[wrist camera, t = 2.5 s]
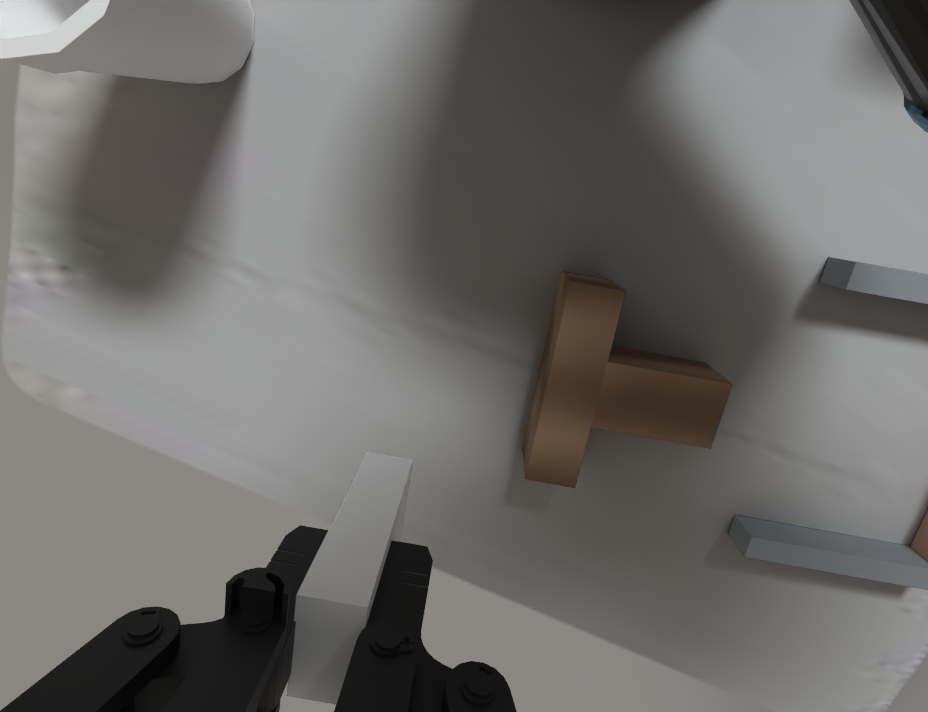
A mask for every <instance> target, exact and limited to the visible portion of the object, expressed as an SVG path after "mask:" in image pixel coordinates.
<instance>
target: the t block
mask: <svg viewBox="0 0 928 712" xmlns="http://www.w3.org/2000/svg"><path fill="white" fill-rule="evenodd" d="M625 293H626V291H625V290H623V289H622V288H621V287H619V286H618V285H616V284H615V283H614V282H612V281H611V280H606V279H601V278H595V277H589V276H584V275H578V274H572V273H567V272H561V276H560V281H559V285H558V290H557V294H556V299H555V303H554V308H553V312H552V317H551V321H550V326H549V331H548V335H547V340H546V344H545V349H544V353H543V358H542V362H541V367H540V371H539V376H538V380H537V385H536V389H535V394H534V398H533V403H532V407H531V412H530V416H529V421H528V425H527V430H526V434H525V439H524V443H523V448H522V452H523V461H524V470H525V479H528V480H534V481H539V482H545V483H550V484H556V485H561V486H567V487H573V488H575V486H576V482H577V478H578V474H579V470H580V467H581V463H582V459H583V455H584V451H585V447H586V443H587V440H588V436H589V432H590V428H591V427H592V428H597V429H603V430H609V431H614V432H620V433H625V434H631V435H637V436H642V437H648V438H653V439H659V440H665V441H670V442H676V443H681V444H687V445H693V446H698V447H704V448H709V449H711V446H712V443H713V440H714V437H715V434H716V431H717V428H718V425H719V423H720V420H721V417H722V414H723V411H724V408H725V405H726V402H727V399H728V396H729V393H730V390H731V387H732V384H731V383H730V382H729V381H728V380H726V379H725V378H724V377H723V376H721V375H720V374H719V373H718V372H716V371H715V370H714V369H713V368H711V367H710V366H709V365H708V364H706V363H703V362H698V361H692V360H686V359H681V358H675V357H670V356H664V355H658V354H653V353H647V352H641V351H636V350H630V349H625V348H619V347H613V346H612V343H613V339H614V335H615V332H616V328H617V324H618V320H619V316H620V312H621V308H622V305H623V301H624V297H625Z"/></svg>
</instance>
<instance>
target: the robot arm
mask: <svg viewBox="0 0 928 712" xmlns="http://www.w3.org/2000/svg"><path fill="white" fill-rule="evenodd" d="M850 2H851V4H852V5H853V7H854V9H855V10H856V12H857V14H858V16H859V17H860V19H861V21H862V22H863V24H864V26H865V28H866V29H867V31H868V33H869V34H870V36H871V38H872V39H873V41H874V43H875V45H876V46H877V48H878V50H879V51H880V53H881V55H882V57H883V58H884V60H885V62H886V63H887V65H888V67H889V68H890V70H891V72H892V74H893V75H894V77H895V79H896V80H897V82H898V84H899V86H900V87H901V89H902V91H903V94H904V107H905V109H906V111H907V113H908V114H909V115H910V117H911V118H912V120H913V121H914V122H915V123H916V124H917V125H919V126H920V127H921V128H922V129H923V130H924V131H926V132H928V0H850ZM412 463H413V459H407V458H402V457H396V456H390V455H385V454H379V453H373V452H368V451H367V453H366V455H365V457H364V459H363V461H362V463H361V465H360V467H359V469H358V472H357V474H356V476H355V478H354V480H353V482H352V484H351V486H350V488H349V490H348V492H347V494H346V496H345V498H344V500H343V502H342V504H341V506H340V508H339V510H338V512H337V514H336V516H335V518H334V520H333V522H332V524H331V526H330V528H329V530H323V529H317V528H312V527H306V526H299V527H297V528H296V529H294V530H293V531H292V532H290V533H289V534H287V535H286V536H285V538H284V539H283V541H282V543H281V544H280V546H279V547H278V550H277V551H276V553H275V554H274V556H273V557H272V559H271V562H269V564H268V565H267V567H266V568H254V569H249V570H245V571H243V572H241V573H239V574H237V575H235V576H233V578H231V579H230V581H228V582H227V583H226V600H225V601H226V602H225V616H224V617H223V618H222V619H219V620H216V621H212V622H206V623H198V624H186V625H180V621H179V618H178V616H177V614H175V613H174V612H173V611H171V610H170V609H167V608H161V607H146V608H141V609H138V610H135V611H132V612H129V613H128V614H126V615H124V616H122V617H121V618H119V619H117V620H116V621H115V622H113V623H112V624H111V625H109V626H108V627H107V628H106V629H104V630H103V631H102V632H101V633H99V634H98V635H97V636H95V637H94V638H93V639H92V640H90V641H89V642H88V643H86V644H85V645H84V646H83V647H81V648H80V649H79V650H77V651H76V652H75V653H74V654H72V655H71V656H70V657H68V658H67V659H66V660H65V661H63V662H62V663H61V664H60V665H58V666H57V667H56V668H54V669H53V670H52V671H51V672H50V673H48V674H47V675H46V676H44V677H43V678H42V679H40V680H39V681H38V682H37V683H35V684H34V685H33V686H31V687H30V688H29V689H27V690H26V691H25V692H24V693H22V694H21V695H20V696H19V697H17V698H16V699H15V700H13V701H12V702H11V703H10V704H8V705H7V706H6V707H4V708H3V709H2V710H1V711H0V712H279V708H280V698H281V696H282V693H283V691H284V689H285V686H286V684H287V682H288V689H287V696H292V697H298V698H303V699H309V700H315V701H320V702H326V703H332V704H336V707H335V711H334V712H516V708H515V705H514V701H513V698H512V695H511V691H510V688H509V686H508V684H507V682H506V681H505V678H504V677H503V676H502V675H501V674H500V673H499V672H498V671H497V670H496V669H495V668H493V667H491V666H489V665H487V664H485V663H480V662H474V661H470V662H466V663H461V664H459V665H458V666H456V667H455V668H454V669H451V668H449V667H447V666H445V665H443V664H441V663H440V662H438V661H437V660H435V659H434V658H433V657H432V656H431V655H430V654H429V653H428V652H427V651H426V649H425V647H424V646H423V643H422V639H421V628H422V621H423V615H424V609H425V604H426V597H427V592H428V585H429V579H430V574H431V568H432V562H433V560H432V557H431V555H430V552H429V550H428V547H426V546H420V545H415V544H409V543H404V542H399V540H400V536H401V532H402V527H403V520H404V514H405V508H406V501H407V495H408V488H409V482H410V476H411V469H412Z"/></svg>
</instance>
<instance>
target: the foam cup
mask: <svg viewBox="0 0 928 712" xmlns="http://www.w3.org/2000/svg"><path fill="white" fill-rule="evenodd" d="M254 18H255V14H254V12H253V9H252V6H251V4H250V1H249V0H0V58H1V59H4V60H8V61H11V62H15V63H18V64H22V65H26V66H29V67H33V68H36V69H40V70H43V71H47V72H51V73H54V74H56V73H64V72H73V71H85V72H94V73H103V74H112V75H121V76H130V77H138V78H147V79H156V80H165V81H174V82H183V83H192V84H195V83H198V84H204V83H213V82H223V81H224V80H226V79H227V78H228V77H230V76H231V75H233V74H234V73H235V72H237V71H238V70H239V69H241V68H242V67H243V65H244V63H245V61H246V59H247V57H248V55H249V53H250V50H251V48H252V46H253V44H254Z"/></svg>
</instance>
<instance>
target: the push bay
mask: <svg viewBox="0 0 928 712" xmlns="http://www.w3.org/2000/svg"><path fill="white" fill-rule="evenodd" d="M819 283H823V284H827V285H831V286H834V287H838V288H842V289H846V290H851V291H857V292H862V293H868V294H874V295H879V296H885V297H891V298H896V299H902V300H908V301H913V302H919V303H925V304H928V275H926V274H921V273H915V272H909V271H904V270H898V269H892V268H887V267H881V266H875V265H870V264H864V263H858V262H853V261H847V260H841V259H836V258H830V257H829V258H828V260H827V263H826V266H825V269H824V271H823V274H822V277H821V280H820V282H819ZM728 534H729V536H730V537H731V539H732V540H733V542H734V543H735V544H736V546H737V547H738V549H739V550H740V552H741V553H742V555H743V556H744V557H746V558H752V559H757V560H763V561H769V562H774V563H780V564H785V565H791V566H797V567H802V568H808V569H813V570H819V571H824V572H830V573H836V574H841V575H847V576H852V577H858V578H863V579H869V580H875V581H880V582H886V583H891V584H897V585H903V586H908V587H914V588H919V589H925V590H928V511H927V513H926V515H925V517H924V519H923V521H922V523H921V525H920V527H919V529H918V531H917V533H916V536H915V538H914V540H913V542H912V544H911V546H906V545H900V544H895V543H889V542H884V541H878V540H872V539H867V538H861V537H856V536H850V535H844V534H839V533H833V532H828V531H822V530H816V529H811V528H805V527H800V526H794V525H789V524H783V523H777V522H772V521H766V520H761V519H755V518H749V517H744V516H738V515H735V516H734V519H733V522H732V524H731V527H730V530H729V533H728Z"/></svg>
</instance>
